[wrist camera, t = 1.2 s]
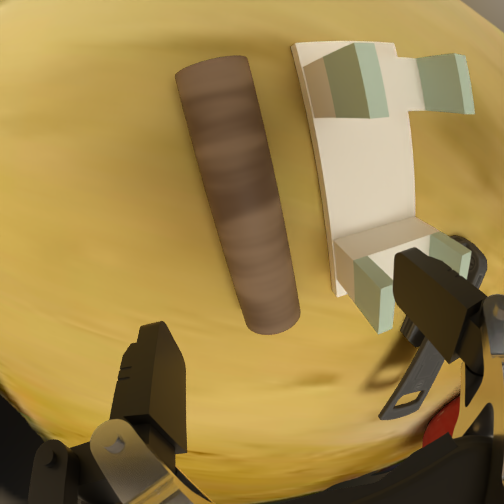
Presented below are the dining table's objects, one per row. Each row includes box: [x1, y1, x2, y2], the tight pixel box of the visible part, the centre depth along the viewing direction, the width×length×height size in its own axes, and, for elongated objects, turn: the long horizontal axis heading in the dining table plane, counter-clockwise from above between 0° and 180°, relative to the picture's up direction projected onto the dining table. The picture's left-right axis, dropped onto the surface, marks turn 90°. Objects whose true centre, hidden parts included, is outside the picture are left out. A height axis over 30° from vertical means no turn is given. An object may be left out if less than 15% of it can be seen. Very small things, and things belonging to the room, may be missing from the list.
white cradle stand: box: [291, 41, 475, 334], centre depth 18 cm, size 22×9×9 cm, turn 13°
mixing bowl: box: [422, 396, 460, 448], centre depth 45 cm, size 28×28×15 cm
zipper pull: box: [378, 235, 487, 420], centre depth 29 cm, size 9×7×25 cm
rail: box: [175, 56, 300, 335], centre depth 20 cm, size 20×5×5 cm, turn 13°
